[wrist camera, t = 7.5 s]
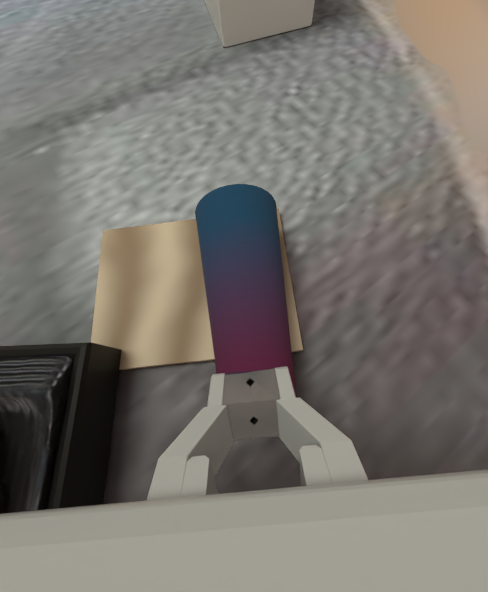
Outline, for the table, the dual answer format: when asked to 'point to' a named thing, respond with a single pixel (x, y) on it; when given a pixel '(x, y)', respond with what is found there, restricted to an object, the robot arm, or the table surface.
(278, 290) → the cup
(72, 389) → the food platter
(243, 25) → the gable box
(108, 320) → the wooden board
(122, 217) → the table surface
